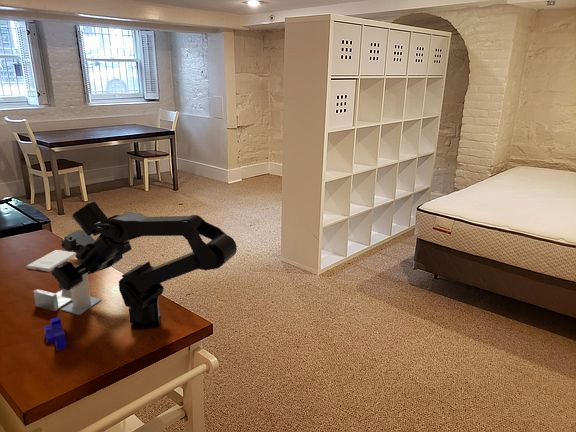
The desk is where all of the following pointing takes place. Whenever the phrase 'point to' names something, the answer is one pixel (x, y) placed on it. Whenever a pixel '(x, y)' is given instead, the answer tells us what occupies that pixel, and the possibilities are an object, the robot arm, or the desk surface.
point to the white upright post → (80, 288)
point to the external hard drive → (51, 260)
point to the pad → (79, 311)
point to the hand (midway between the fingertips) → (74, 280)
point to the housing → (52, 299)
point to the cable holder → (56, 333)
